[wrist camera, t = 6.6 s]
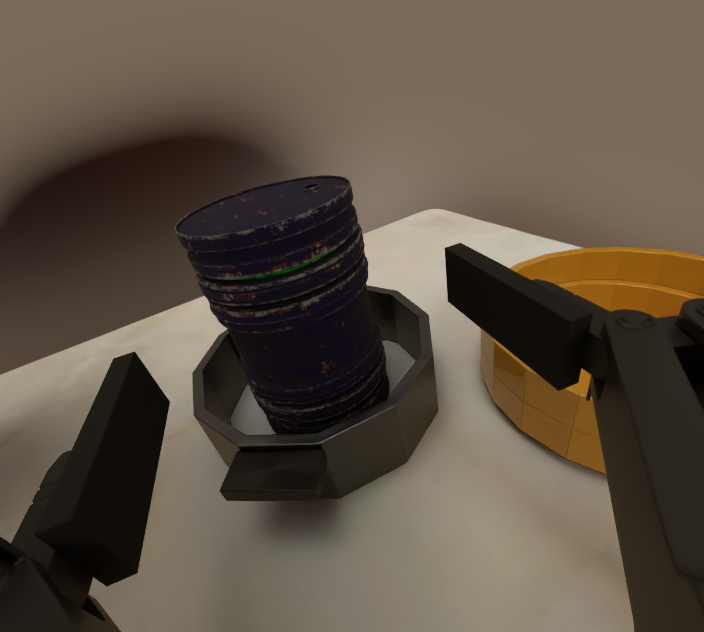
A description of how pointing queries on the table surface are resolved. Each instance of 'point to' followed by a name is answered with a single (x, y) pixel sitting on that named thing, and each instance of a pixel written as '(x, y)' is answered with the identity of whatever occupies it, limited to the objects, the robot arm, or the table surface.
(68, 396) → the table surface
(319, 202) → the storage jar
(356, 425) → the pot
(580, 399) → the bowl
